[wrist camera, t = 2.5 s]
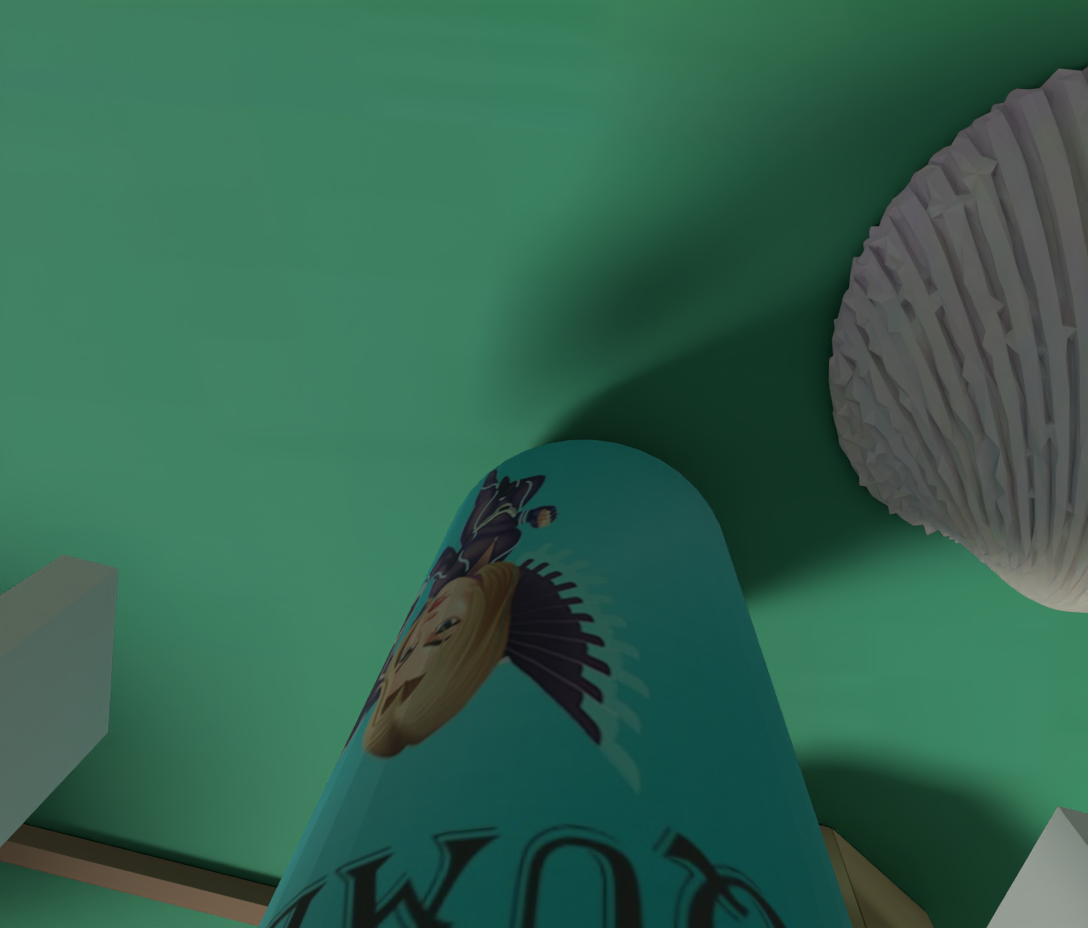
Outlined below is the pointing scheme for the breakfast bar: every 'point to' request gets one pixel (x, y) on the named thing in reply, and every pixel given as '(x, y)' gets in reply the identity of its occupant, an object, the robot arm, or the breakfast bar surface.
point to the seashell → (981, 345)
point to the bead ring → (870, 890)
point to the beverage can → (569, 729)
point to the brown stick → (137, 874)
